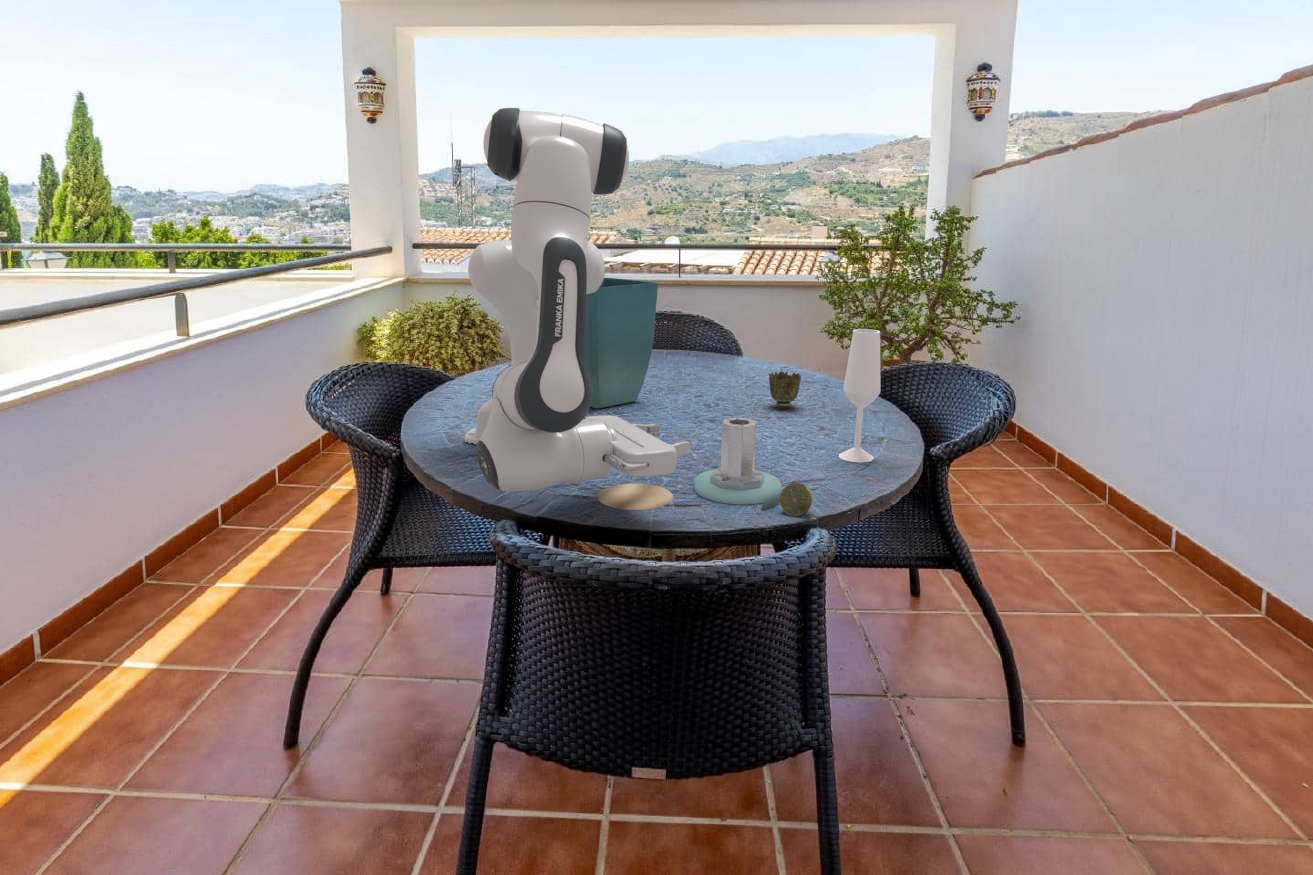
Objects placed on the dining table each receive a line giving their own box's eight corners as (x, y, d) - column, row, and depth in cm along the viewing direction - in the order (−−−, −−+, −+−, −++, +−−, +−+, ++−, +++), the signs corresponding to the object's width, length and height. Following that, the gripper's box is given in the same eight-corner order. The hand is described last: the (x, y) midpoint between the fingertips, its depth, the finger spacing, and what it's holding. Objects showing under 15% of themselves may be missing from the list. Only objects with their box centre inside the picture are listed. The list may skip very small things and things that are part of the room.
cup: (804, 406, 195) (806, 373, 193) (791, 413, 189) (793, 378, 187) (775, 402, 199) (777, 369, 197) (762, 408, 193) (763, 374, 191)
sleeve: (706, 486, 132) (708, 426, 129) (718, 471, 140) (719, 414, 137) (757, 492, 130) (760, 430, 127) (766, 476, 138) (769, 418, 135)
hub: (685, 506, 131) (686, 466, 129) (704, 478, 144) (705, 442, 142) (774, 515, 127) (776, 475, 125) (785, 486, 140) (787, 449, 138)
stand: (586, 512, 128) (586, 504, 127) (611, 487, 139) (611, 480, 139) (662, 520, 125) (662, 513, 124) (680, 494, 136) (680, 487, 136)
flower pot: (541, 399, 199) (537, 280, 191) (605, 388, 212) (604, 276, 204) (592, 415, 185) (591, 287, 177) (658, 402, 198) (660, 282, 190)
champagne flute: (831, 453, 159) (840, 329, 152) (860, 450, 161) (870, 327, 155) (851, 463, 153) (862, 334, 146) (881, 460, 155) (893, 332, 149)
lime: (814, 518, 126) (816, 487, 125) (783, 519, 126) (785, 488, 125) (806, 507, 131) (808, 477, 129) (776, 508, 130) (778, 478, 129)
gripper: (622, 449, 111) (709, 436, 117) (563, 412, 128) (642, 403, 135) (621, 493, 113) (707, 478, 119) (563, 451, 130) (641, 440, 136)
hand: (672, 438), depth 127 cm, fingers open, 8 cm apart
